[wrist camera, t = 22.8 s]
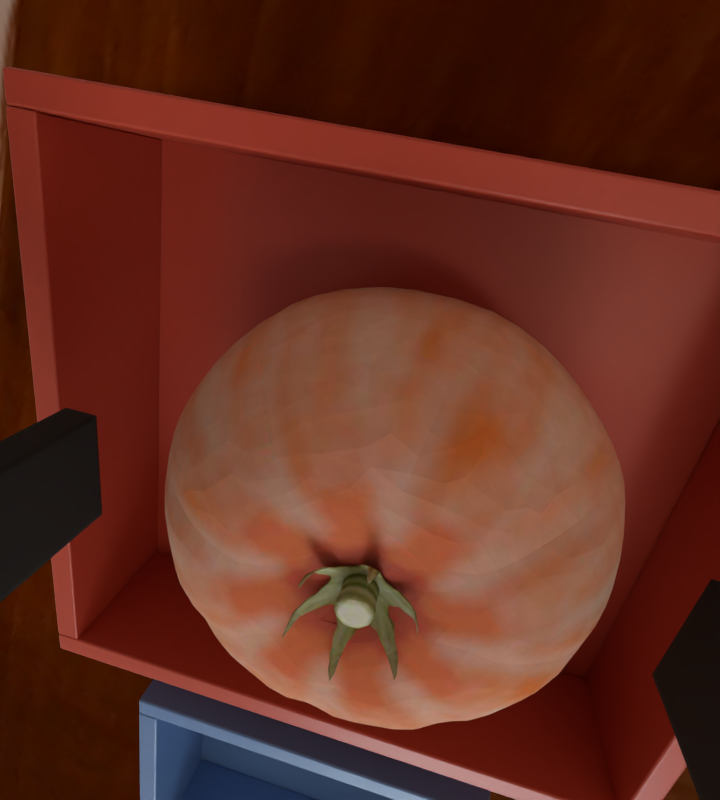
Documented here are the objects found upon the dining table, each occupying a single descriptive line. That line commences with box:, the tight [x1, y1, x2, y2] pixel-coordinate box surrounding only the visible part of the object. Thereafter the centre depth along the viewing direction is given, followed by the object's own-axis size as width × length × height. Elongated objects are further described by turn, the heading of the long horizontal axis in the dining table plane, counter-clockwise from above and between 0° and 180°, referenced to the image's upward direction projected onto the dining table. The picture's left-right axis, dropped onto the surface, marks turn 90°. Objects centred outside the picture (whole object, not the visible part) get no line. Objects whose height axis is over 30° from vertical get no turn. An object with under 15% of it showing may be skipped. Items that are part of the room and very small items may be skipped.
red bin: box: [3, 66, 720, 800], centre depth 14 cm, size 16×18×5 cm
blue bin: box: [139, 679, 490, 800], centre depth 21 cm, size 10×12×5 cm
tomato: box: [165, 287, 625, 730], centre depth 12 cm, size 11×11×8 cm
